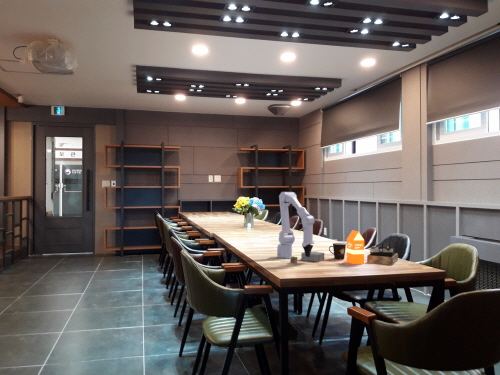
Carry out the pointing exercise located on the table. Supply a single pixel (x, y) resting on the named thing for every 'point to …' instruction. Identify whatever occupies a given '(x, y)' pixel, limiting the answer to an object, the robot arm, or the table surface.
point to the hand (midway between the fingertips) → (307, 256)
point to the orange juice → (355, 248)
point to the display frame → (383, 259)
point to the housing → (320, 255)
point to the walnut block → (293, 260)
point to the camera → (381, 251)
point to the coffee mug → (338, 250)
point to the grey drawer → (311, 258)
